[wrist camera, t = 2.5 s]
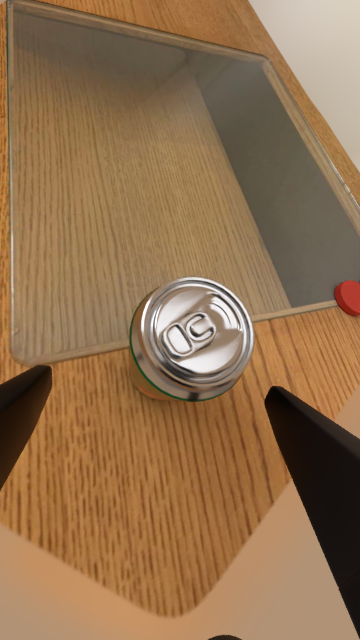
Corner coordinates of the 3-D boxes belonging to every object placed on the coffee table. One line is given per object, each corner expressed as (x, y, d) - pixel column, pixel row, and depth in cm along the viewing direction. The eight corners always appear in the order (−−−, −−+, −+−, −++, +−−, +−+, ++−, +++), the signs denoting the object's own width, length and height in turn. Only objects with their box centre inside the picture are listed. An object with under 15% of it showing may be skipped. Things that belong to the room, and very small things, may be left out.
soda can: (197, 377, 19) (289, 351, 8) (148, 412, 17) (183, 437, 6) (167, 330, 20) (214, 249, 9) (118, 359, 18) (101, 300, 7)
